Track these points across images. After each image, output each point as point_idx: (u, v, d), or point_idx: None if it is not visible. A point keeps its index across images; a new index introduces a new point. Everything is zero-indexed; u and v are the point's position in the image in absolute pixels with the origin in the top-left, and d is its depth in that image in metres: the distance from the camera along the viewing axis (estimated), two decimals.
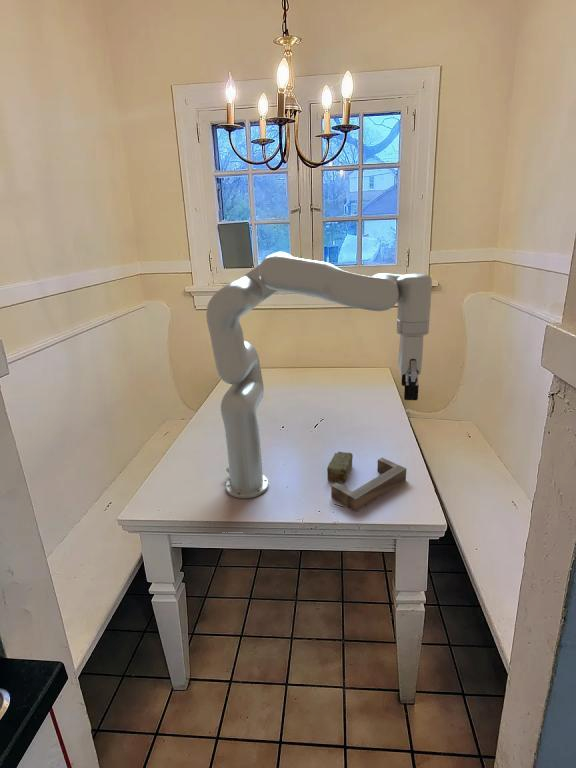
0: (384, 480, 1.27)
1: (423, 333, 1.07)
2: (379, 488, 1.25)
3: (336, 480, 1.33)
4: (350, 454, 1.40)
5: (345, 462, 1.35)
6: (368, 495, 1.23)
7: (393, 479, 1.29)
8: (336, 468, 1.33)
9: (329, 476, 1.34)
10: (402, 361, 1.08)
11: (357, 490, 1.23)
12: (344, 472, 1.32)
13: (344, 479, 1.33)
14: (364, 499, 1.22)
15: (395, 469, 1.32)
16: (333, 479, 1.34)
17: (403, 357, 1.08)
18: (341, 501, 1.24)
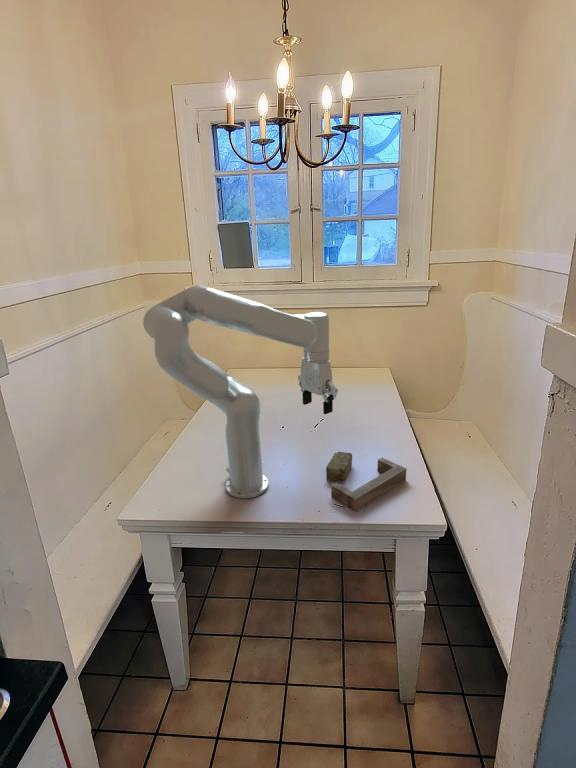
0: (384, 480, 1.27)
1: (328, 358, 1.33)
2: (379, 488, 1.25)
3: (335, 480, 1.33)
4: (350, 454, 1.40)
5: (344, 462, 1.36)
6: (368, 495, 1.23)
7: (393, 479, 1.29)
8: (335, 468, 1.33)
9: (328, 476, 1.34)
10: (320, 384, 1.31)
11: (357, 490, 1.23)
12: (343, 472, 1.32)
13: (343, 479, 1.33)
14: (364, 499, 1.22)
15: (395, 469, 1.32)
16: (332, 479, 1.34)
17: (321, 380, 1.31)
18: (341, 501, 1.24)
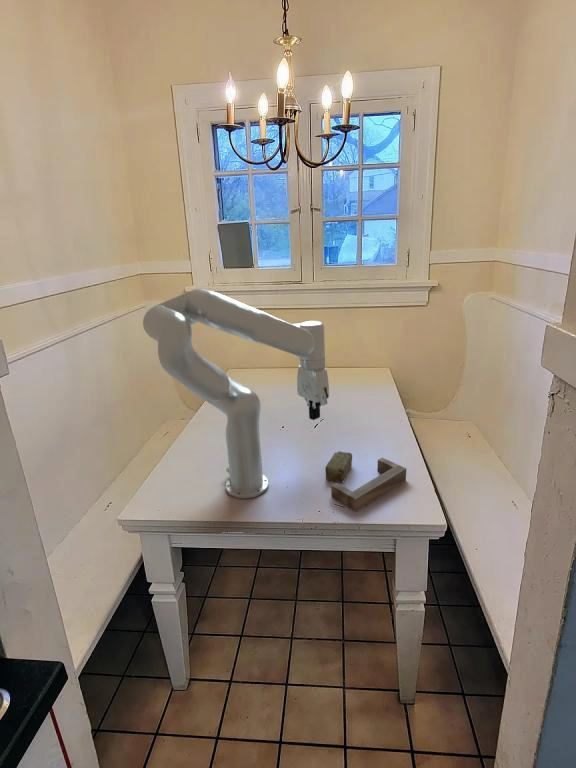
0: (384, 480, 1.27)
1: (324, 365, 1.35)
2: (379, 488, 1.25)
3: (334, 480, 1.34)
4: (350, 454, 1.40)
5: (343, 462, 1.36)
6: (368, 495, 1.23)
7: (393, 479, 1.29)
8: (334, 468, 1.33)
9: (327, 475, 1.35)
10: (318, 391, 1.33)
11: (357, 490, 1.23)
12: (342, 472, 1.32)
13: (342, 479, 1.33)
14: (364, 499, 1.22)
15: (395, 469, 1.32)
16: (331, 478, 1.34)
17: (319, 388, 1.33)
18: (341, 501, 1.24)
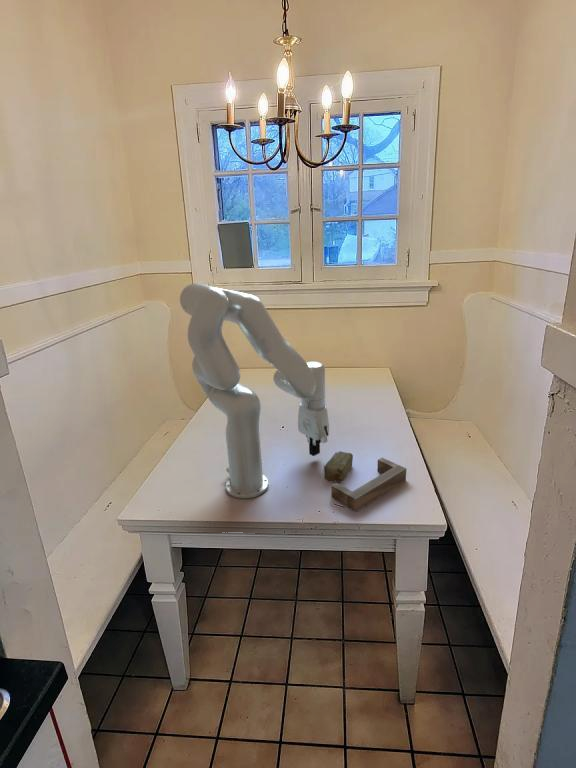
0: (384, 480, 1.27)
1: None
2: (379, 488, 1.25)
3: (332, 479, 1.34)
4: (350, 454, 1.40)
5: (343, 462, 1.36)
6: (368, 495, 1.23)
7: (393, 479, 1.29)
8: (332, 468, 1.33)
9: (326, 475, 1.35)
10: (318, 430, 1.38)
11: (357, 490, 1.23)
12: (340, 472, 1.32)
13: (340, 479, 1.33)
14: (364, 499, 1.22)
15: (395, 469, 1.32)
16: (329, 478, 1.34)
17: (319, 427, 1.37)
18: (341, 501, 1.24)
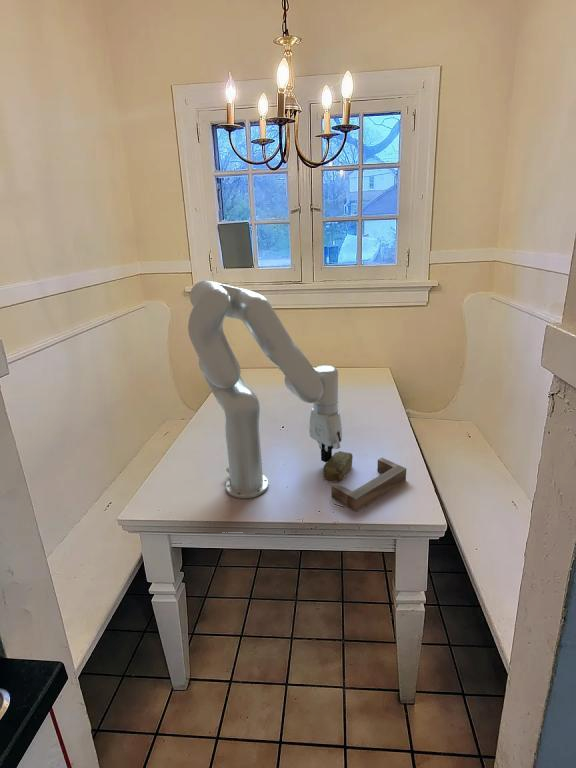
0: (384, 480, 1.27)
1: None
2: (379, 488, 1.25)
3: (331, 479, 1.34)
4: (350, 454, 1.40)
5: (342, 462, 1.36)
6: (368, 495, 1.23)
7: (393, 479, 1.29)
8: (331, 467, 1.33)
9: (325, 474, 1.35)
10: (331, 436, 1.34)
11: (357, 490, 1.23)
12: (339, 472, 1.32)
13: (339, 479, 1.33)
14: (364, 499, 1.22)
15: (395, 469, 1.32)
16: (329, 478, 1.34)
17: (332, 432, 1.33)
18: (341, 501, 1.24)
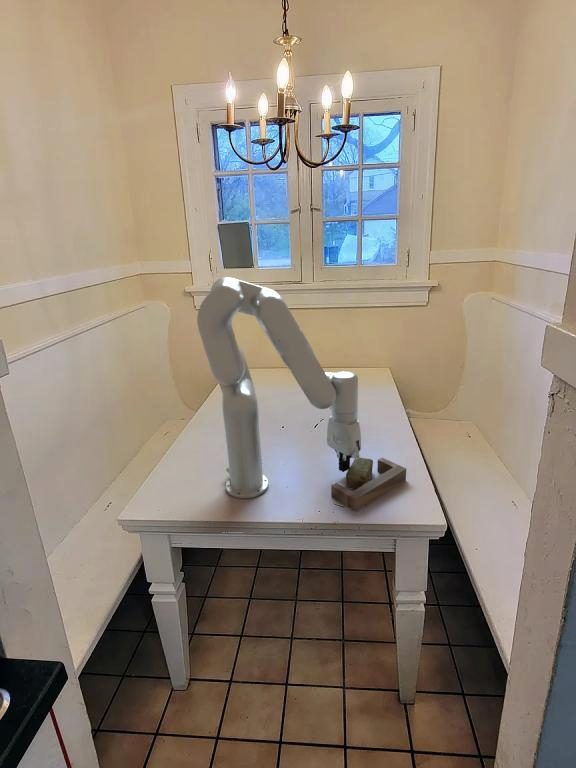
0: (384, 480, 1.27)
1: (357, 417, 1.30)
2: (379, 488, 1.25)
3: (355, 487, 1.30)
4: (370, 460, 1.36)
5: (364, 469, 1.32)
6: (368, 495, 1.23)
7: (393, 479, 1.29)
8: (355, 475, 1.29)
9: (348, 482, 1.31)
10: (350, 445, 1.28)
11: (357, 490, 1.23)
12: (363, 479, 1.28)
13: None
14: (364, 499, 1.22)
15: (395, 469, 1.32)
16: (352, 486, 1.30)
17: (351, 441, 1.28)
18: (341, 501, 1.24)
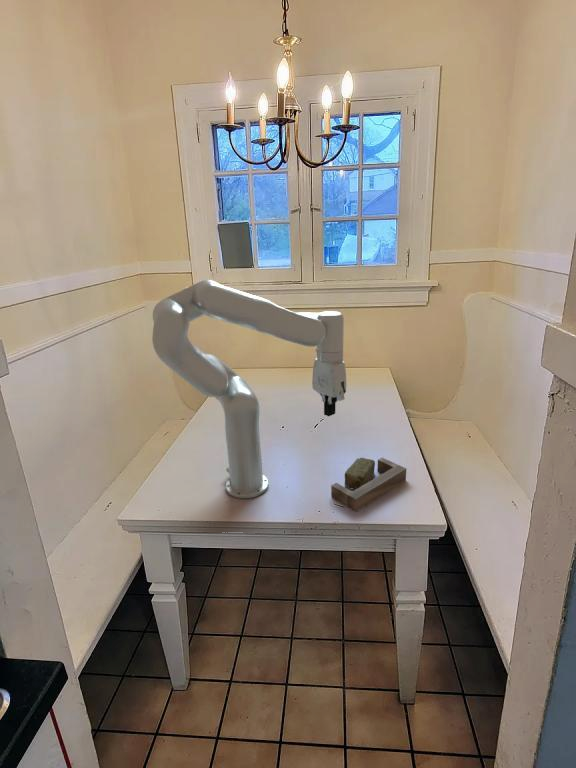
0: (384, 480, 1.27)
1: (342, 359, 1.28)
2: (379, 488, 1.25)
3: (353, 486, 1.30)
4: (372, 461, 1.36)
5: (364, 469, 1.31)
6: (368, 495, 1.23)
7: (393, 479, 1.29)
8: (353, 474, 1.29)
9: (346, 481, 1.31)
10: (335, 385, 1.26)
11: (357, 490, 1.23)
12: (361, 479, 1.28)
13: None
14: (364, 499, 1.22)
15: (395, 469, 1.32)
16: (350, 485, 1.30)
17: (336, 382, 1.26)
18: (341, 501, 1.24)
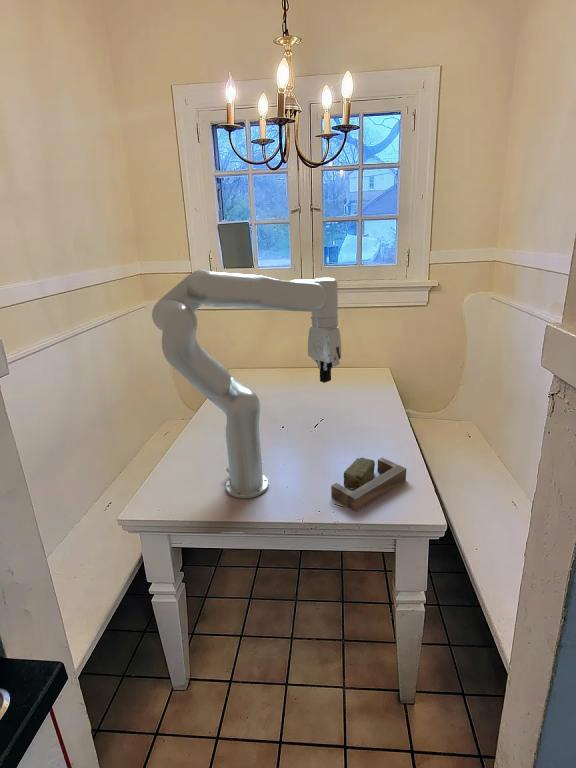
0: (384, 480, 1.27)
1: (337, 325, 1.31)
2: (379, 488, 1.25)
3: (351, 486, 1.30)
4: (372, 461, 1.36)
5: (363, 469, 1.31)
6: (368, 495, 1.23)
7: (393, 479, 1.29)
8: (352, 474, 1.30)
9: (345, 481, 1.31)
10: (330, 350, 1.29)
11: (357, 490, 1.23)
12: (360, 479, 1.28)
13: (359, 486, 1.29)
14: (364, 499, 1.22)
15: (395, 469, 1.32)
16: (349, 485, 1.30)
17: (331, 347, 1.28)
18: (341, 501, 1.24)
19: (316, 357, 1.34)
